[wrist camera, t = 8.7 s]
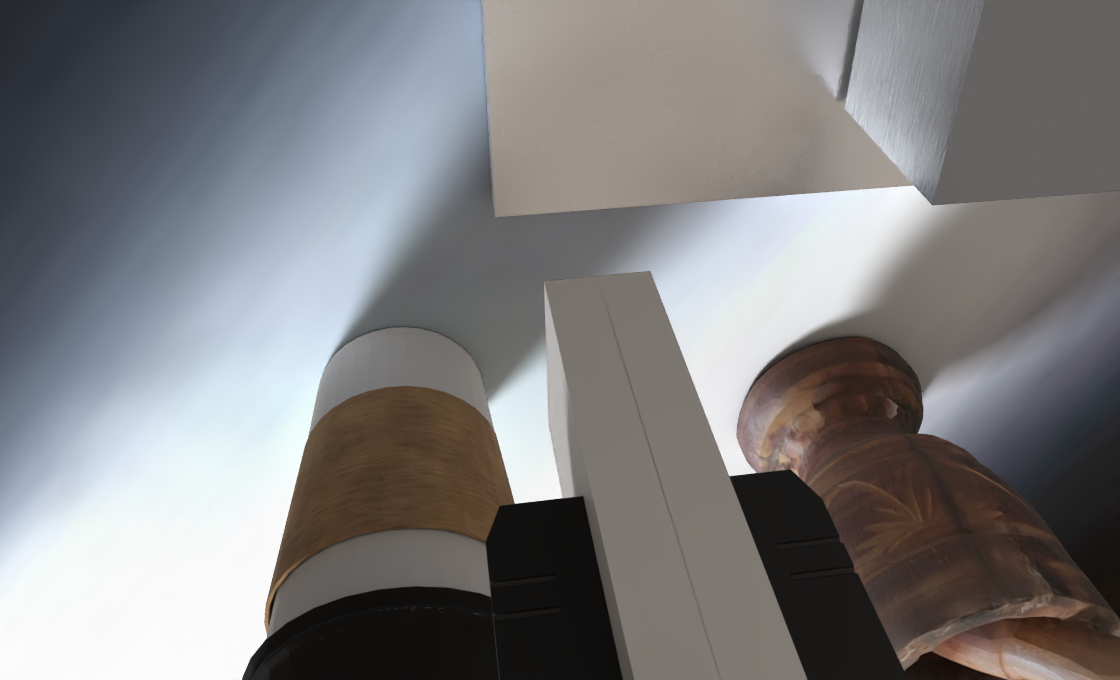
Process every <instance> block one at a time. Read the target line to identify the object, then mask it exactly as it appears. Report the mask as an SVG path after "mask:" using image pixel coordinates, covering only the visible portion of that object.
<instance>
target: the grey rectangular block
mask: <svg viewBox="0 0 1120 680" xmlns="http://www.w3.org/2000/svg"><path fill="white" fill-rule="evenodd" d="M845 110H846V111H847V112H848V113H849V114H850V115H851V116H852V117H853V119H854V120H855V121H856V122H857V123H858V124H859V125H860V126H861V127H862V128H863V130H864V131H865V132H866V133H867V134H868V135H869V136H870V137H871V138H872V139H873V141H874V142H875V143H876V144H877V145H878V146H879V147H880V148H881V149H882V151H883V152H884V153H885V154H886V155H887V156H888V157H889V158H890V159H891V160H892V162H893V163H894V164H895V165H896V166H897V167H898V168H899V169H900V170H901V171H902V173H903V174H904V175H905V176H906V177H907V178H908V179H909V180H910V181H911V182H912V184H913V185H914V186H915V187H916V188H917V189H918V190H919V191H920V192H921V193H922V195H923V196H924V197H925V198H926V199H927V200H928V201H929V202H930V203H931V205H943V204H956V203H968V202H981V201H994V200H1006V199H1019V198H1032V197H1044V196H1057V195H1070V194H1083V193H1095V192H1108V191H1120V0H864V4H863V9H862V15H861V20H860V26H859V31H858V37H857V42H856V48H855V53H854V59H853V64H852V70H851V76H850V81H849V87H848V92H847V98H846V103H845Z"/></svg>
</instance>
